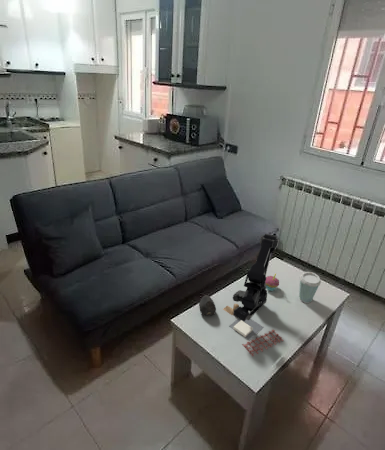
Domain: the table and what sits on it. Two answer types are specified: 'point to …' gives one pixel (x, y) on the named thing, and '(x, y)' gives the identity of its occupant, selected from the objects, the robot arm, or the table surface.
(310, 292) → the disposable coffee cup
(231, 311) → the turner
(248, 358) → the table surface
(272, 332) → the red lattice rack
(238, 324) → the tile
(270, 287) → the cupcake
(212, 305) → the stone
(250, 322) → the mat
